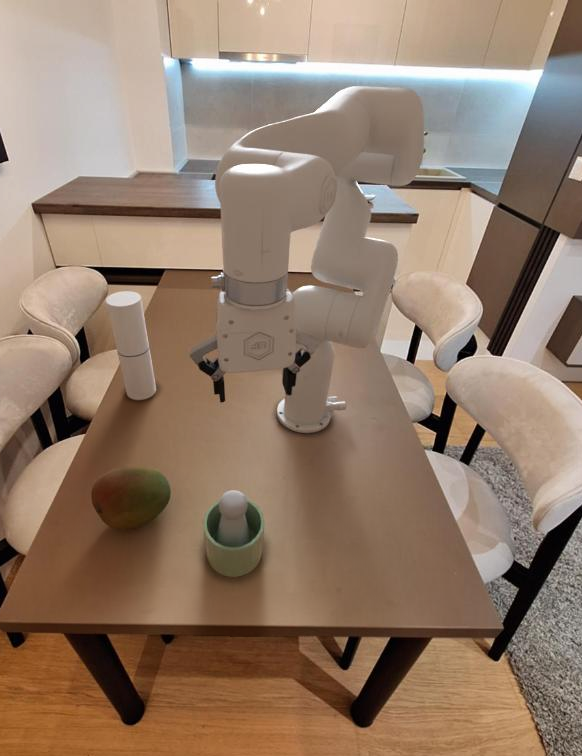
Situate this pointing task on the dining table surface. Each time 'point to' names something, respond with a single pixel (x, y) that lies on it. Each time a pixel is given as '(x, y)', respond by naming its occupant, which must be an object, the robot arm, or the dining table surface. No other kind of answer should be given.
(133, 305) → the cylindrical container
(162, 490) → the fruit
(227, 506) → the salt shaker
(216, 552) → the cup
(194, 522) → the dining table surface
